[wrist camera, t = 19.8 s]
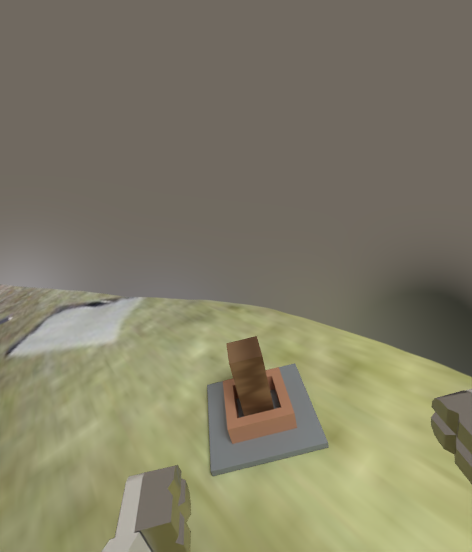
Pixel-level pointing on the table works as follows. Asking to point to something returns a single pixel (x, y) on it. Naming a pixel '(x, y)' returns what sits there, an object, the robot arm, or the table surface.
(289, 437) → the housing
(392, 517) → the table surface
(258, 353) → the wooden post
